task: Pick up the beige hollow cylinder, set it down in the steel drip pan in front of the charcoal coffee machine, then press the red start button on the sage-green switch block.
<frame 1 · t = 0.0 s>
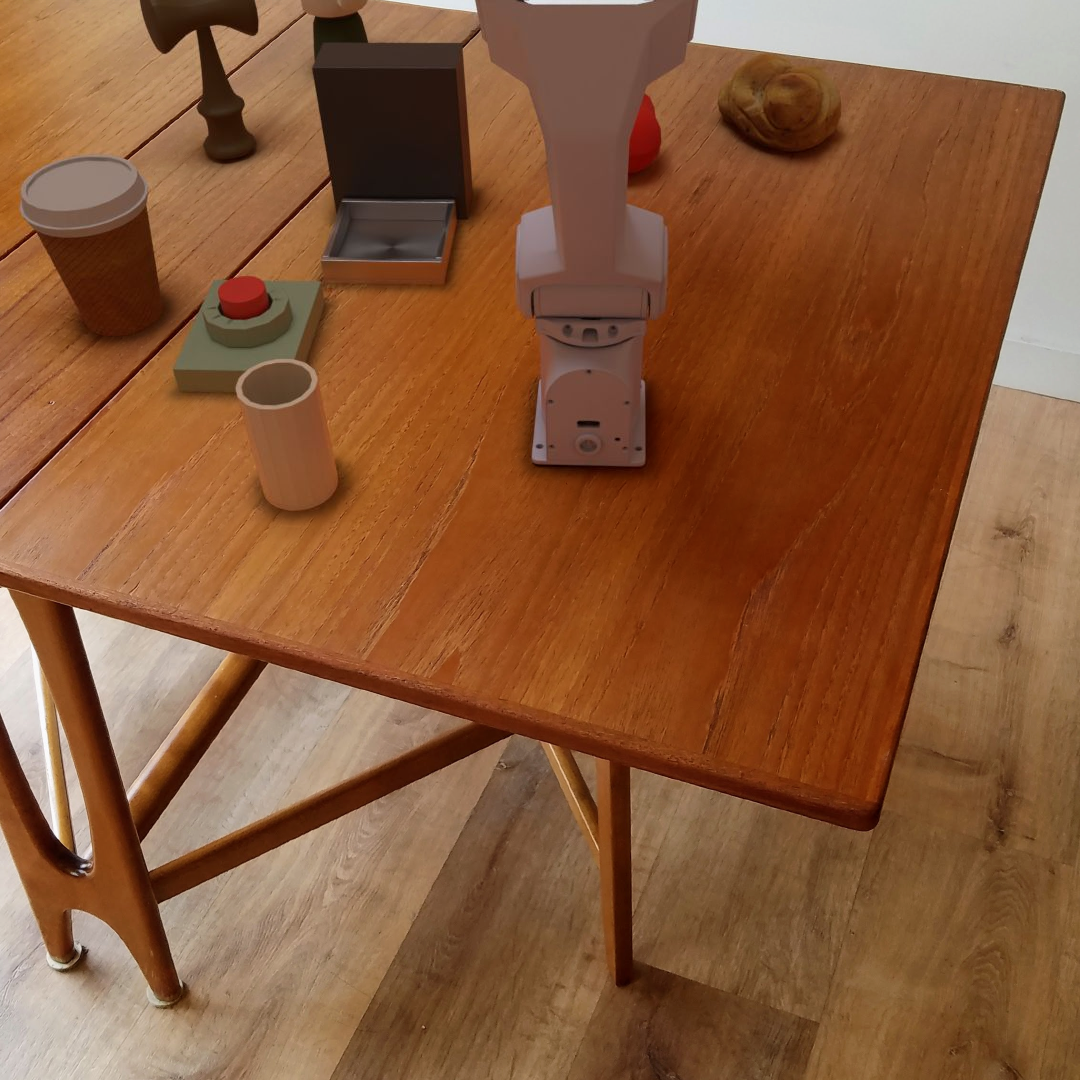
kendama: (231, 153, 115), on the table
coffee machine: (405, 205, 107), on the table
beige hollow cylinder: (300, 485, 81), on the table
bread roll: (774, 132, 115), on the table
drip pan: (393, 252, 101), on the table
switch block: (255, 346, 92), on the table
tomato: (602, 166, 111), on the table
character mug: (345, 70, 128), on the table
start button: (243, 298, 89), point 4 cm above the table, slide at 0.1 cm
disposable coffee cup: (125, 316, 96), on the table
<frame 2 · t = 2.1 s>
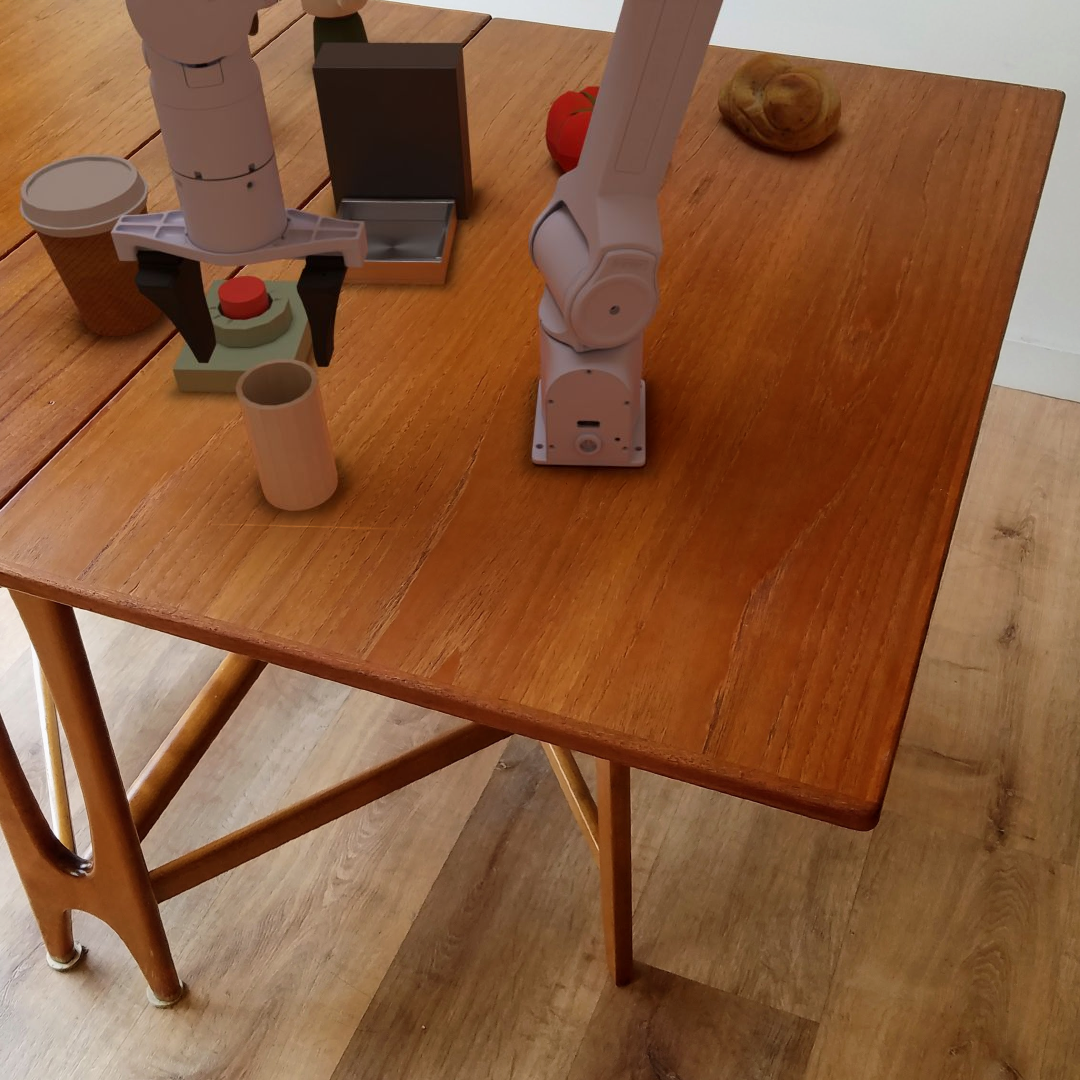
hand: (266, 355, 73), 11 cm above the table, tool pointing down, fingers open, 7 cm apart
nothing on the table moved.
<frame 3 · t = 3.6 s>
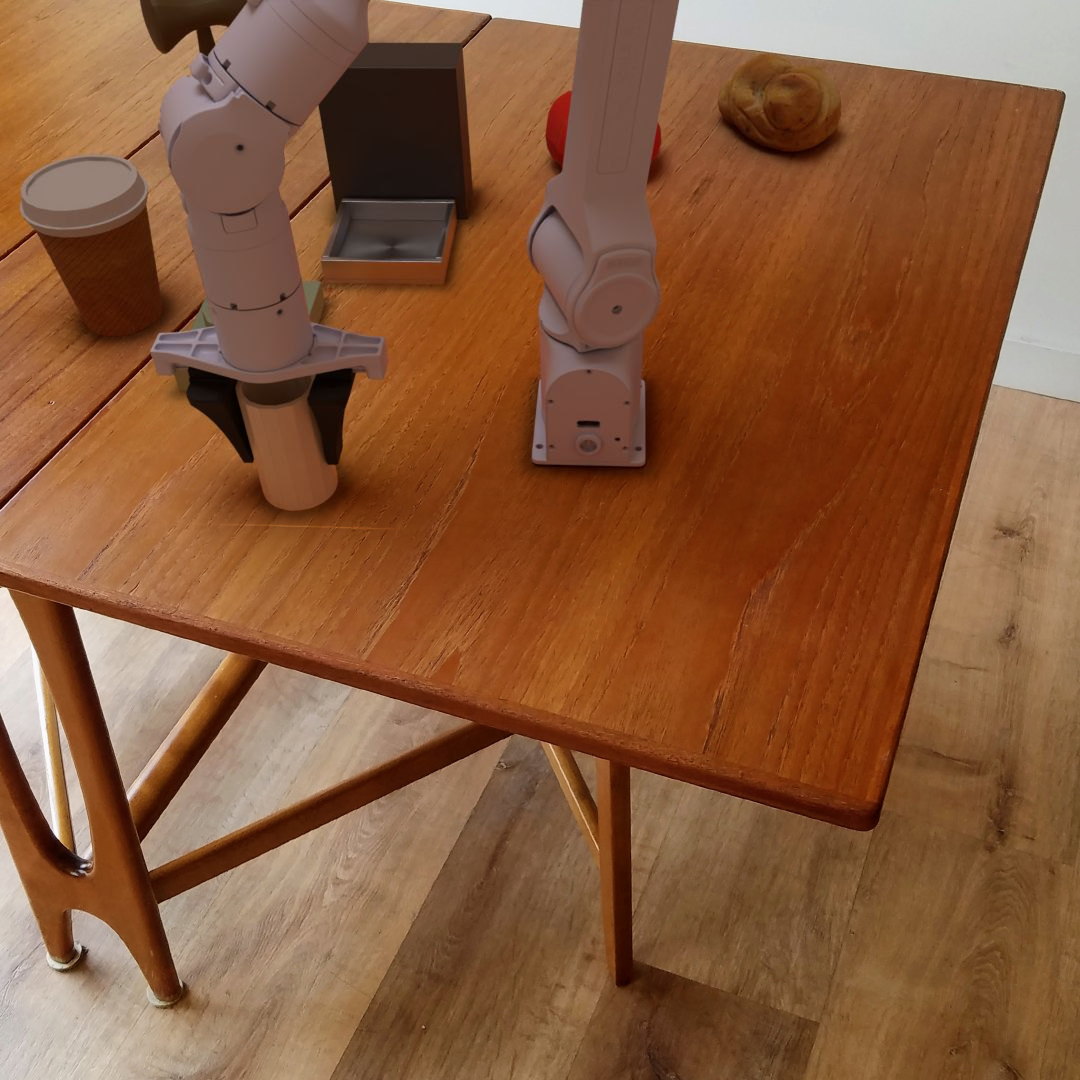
hand: (293, 454, 78), 3 cm above the table, tool pointing down, fingers closed on beige hollow cylinder, 5 cm apart
beige hollow cylinder: (300, 485, 81), on the table, touching gripper
everything else where it was.
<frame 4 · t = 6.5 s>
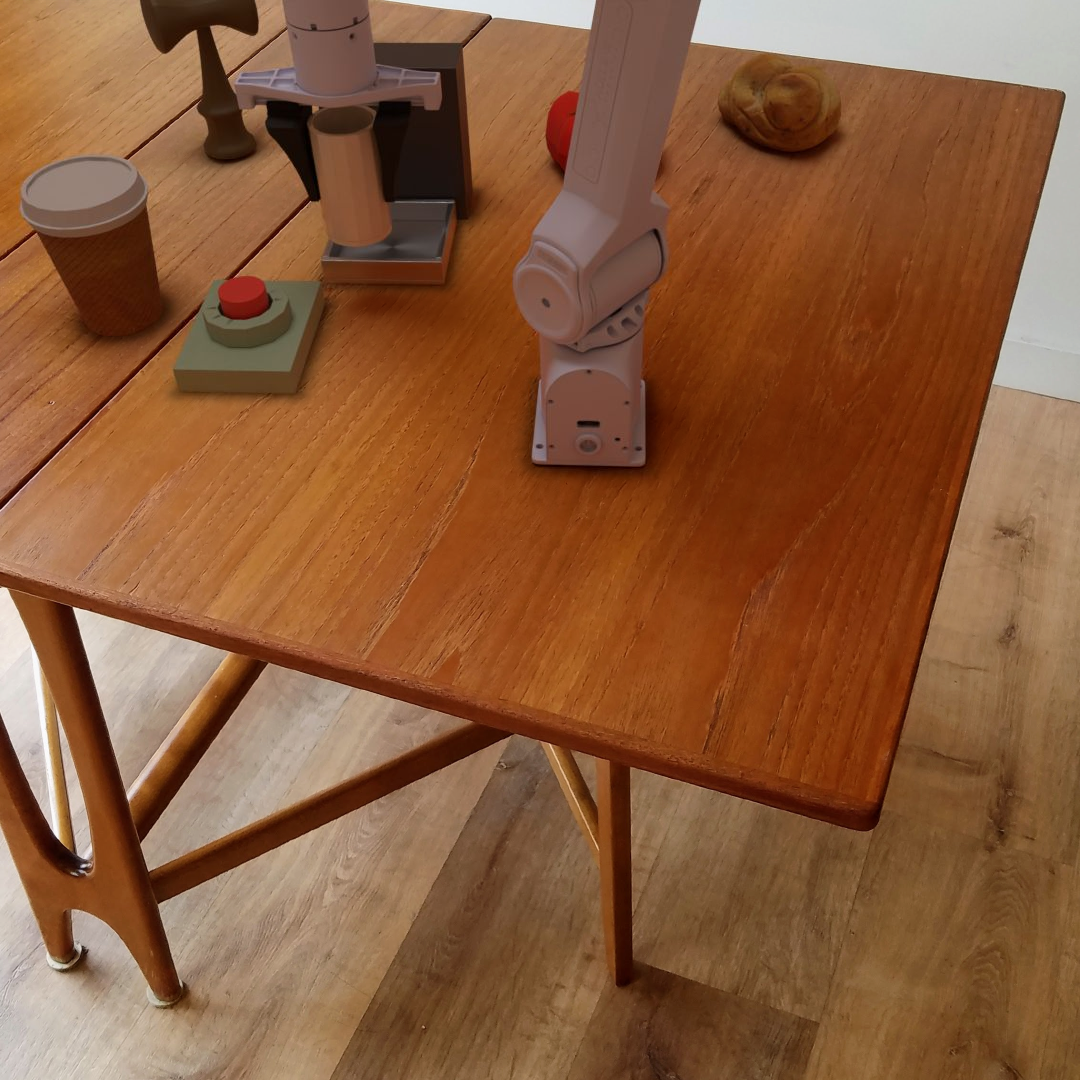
hand: (354, 195, 89), 10 cm above the table, tool pointing down, fingers closed on beige hollow cylinder, 5 cm apart
beige hollow cylinder: (359, 229, 91), point 7 cm above the table, touching gripper
everything else where it was.
when the fingers open (3 cm above the table, at t = 9.2 s): beige hollow cylinder stays where it is, resting on drip pan.
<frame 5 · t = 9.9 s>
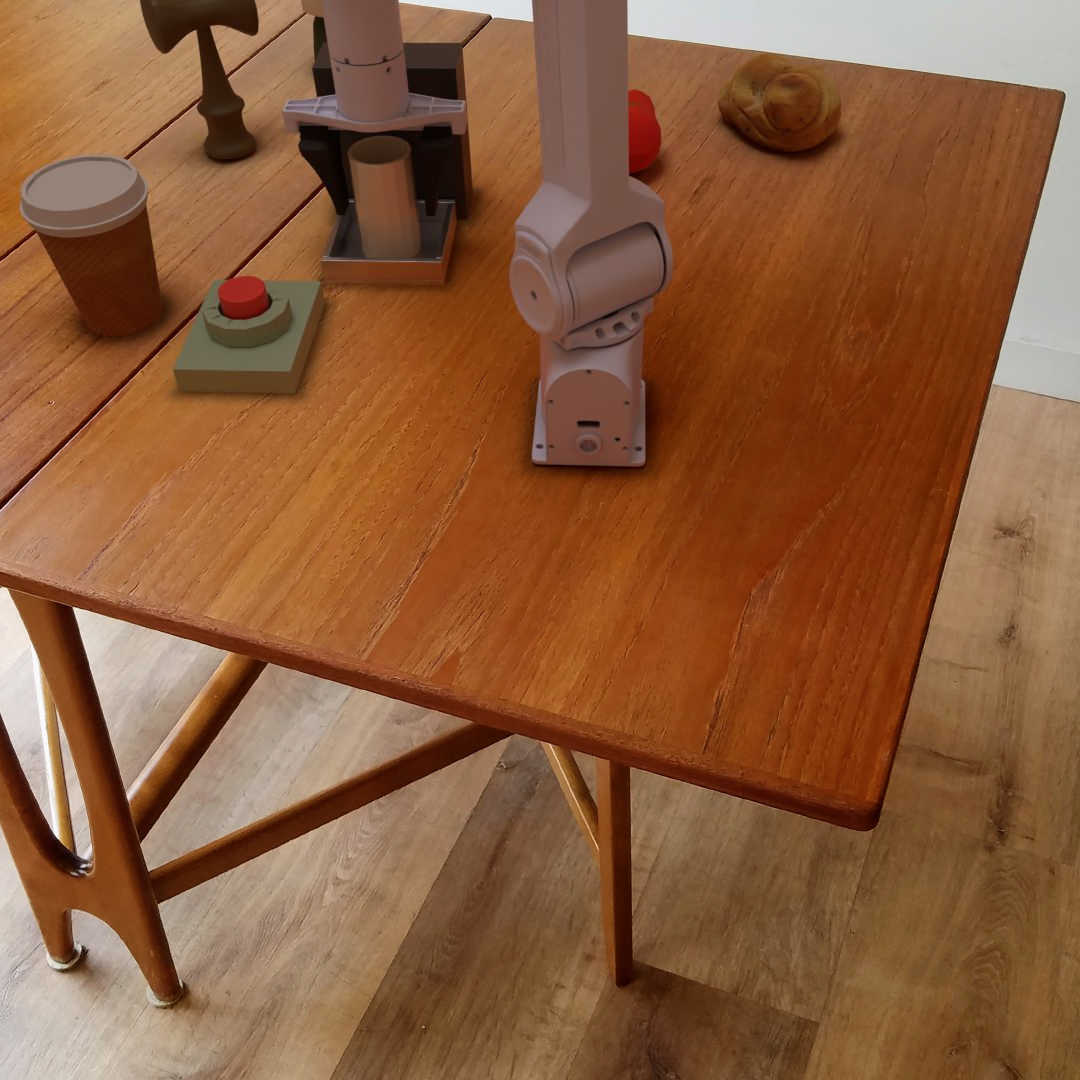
hand: (387, 209, 98), 4 cm above the table, tool pointing down, fingers open, 7 cm apart
beige hollow cylinder: (392, 247, 101), resting on drip pan
everything else where it was.
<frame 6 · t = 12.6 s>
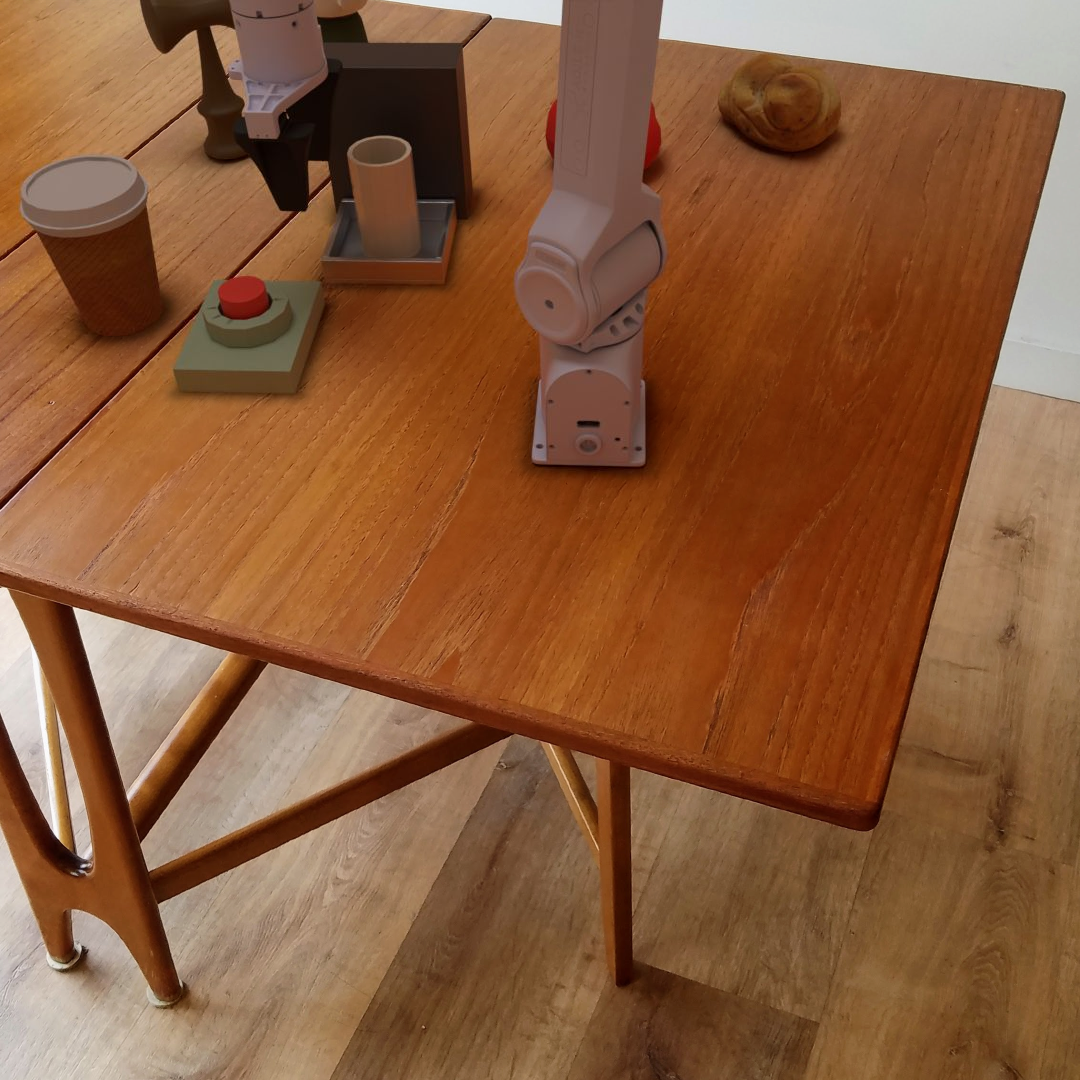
hand: (305, 183, 89), 10 cm above the table, tool pointing down, fingers open, 7 cm apart
nothing on the table moved.
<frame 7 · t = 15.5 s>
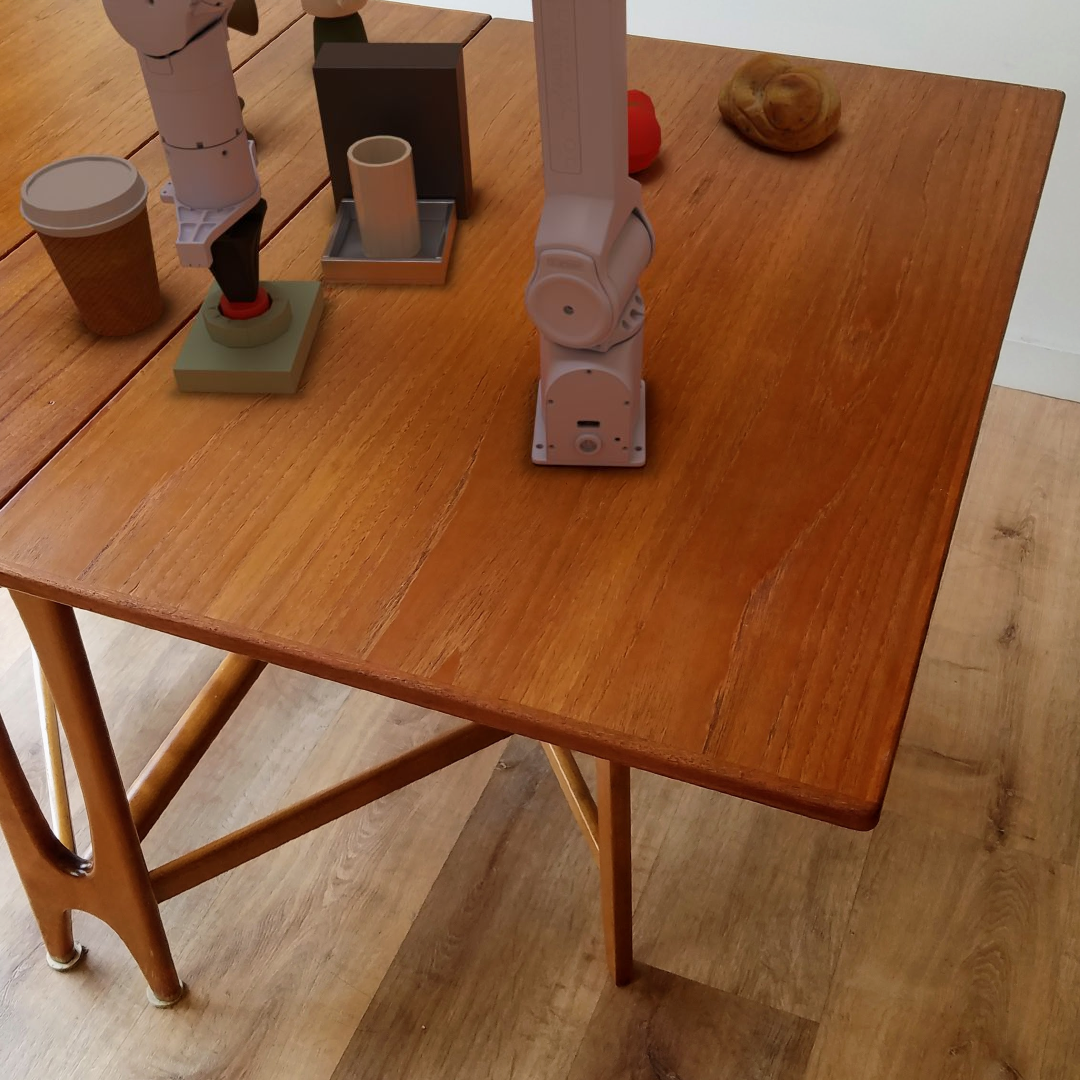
hand: (243, 297, 89), 5 cm above the table, tool pointing down, fingers closed, pressing on start button
start button: (245, 306, 89), point 4 cm above the table, slide at -0.7 cm, touching gripper
everything else where it was.
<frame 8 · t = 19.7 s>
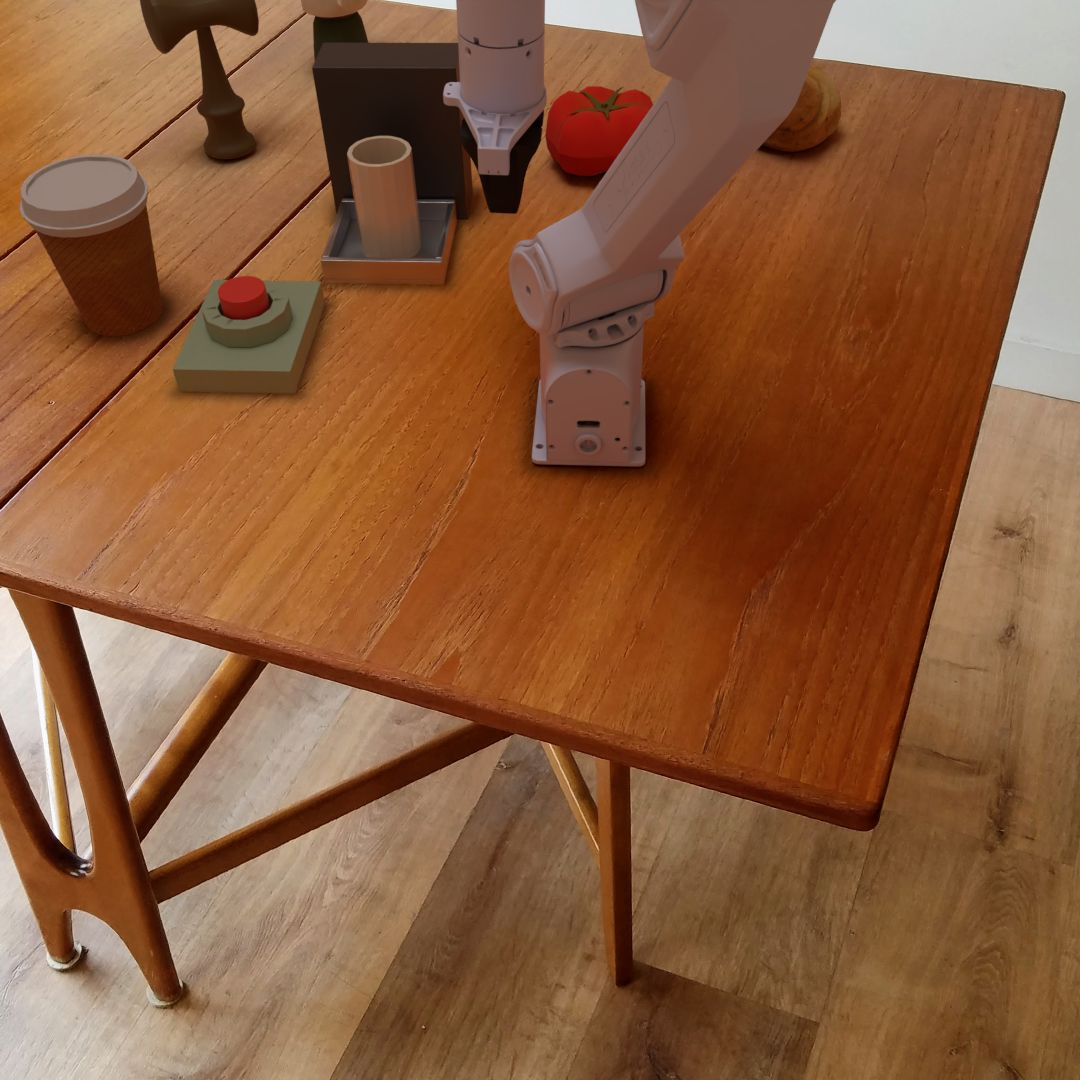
hand: (503, 208, 86), 10 cm above the table, tool pointing down, fingers closed
start button: (243, 298, 89), point 4 cm above the table, slide at 0.1 cm
everything else where it was.
at the end: beige hollow cylinder 0.0 cm off-centre in the drip pan, point 0.5 cm above the drip pan's base; beige hollow cylinder tilted 0°; start button pushed in 1.2 cm at the most during the clip, back to where it started at the end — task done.
